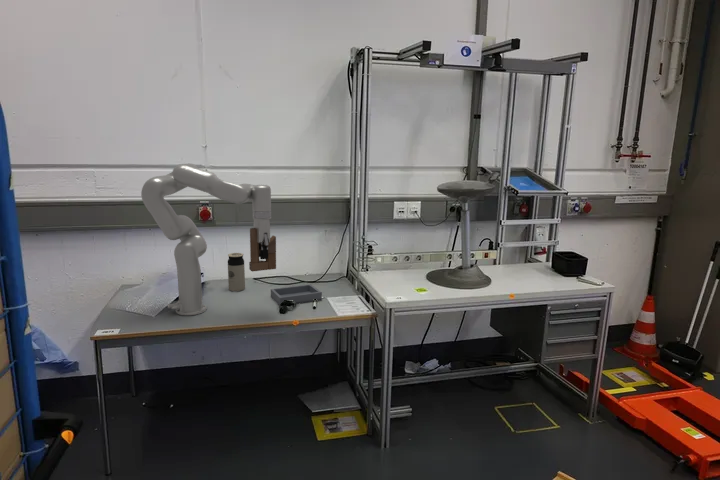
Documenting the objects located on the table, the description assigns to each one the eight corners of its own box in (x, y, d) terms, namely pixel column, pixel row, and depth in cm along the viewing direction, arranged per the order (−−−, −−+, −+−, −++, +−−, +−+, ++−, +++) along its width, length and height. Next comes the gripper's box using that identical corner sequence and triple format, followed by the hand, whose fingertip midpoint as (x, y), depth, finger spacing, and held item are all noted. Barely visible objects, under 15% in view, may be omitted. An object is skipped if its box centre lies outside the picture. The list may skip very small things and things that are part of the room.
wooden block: (276, 269, 206) (276, 227, 202) (251, 271, 200) (251, 229, 197) (273, 267, 209) (272, 226, 205) (249, 269, 203) (248, 228, 200)
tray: (279, 306, 217) (279, 297, 217) (270, 297, 230) (270, 289, 229) (321, 300, 227) (321, 292, 226) (310, 291, 239) (310, 284, 238)
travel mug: (239, 286, 247) (238, 251, 243) (248, 289, 241) (247, 254, 238) (225, 289, 241) (224, 254, 237) (234, 292, 236) (232, 257, 232)
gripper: (247, 212, 205) (248, 254, 209) (258, 218, 191) (259, 263, 195) (265, 211, 209) (265, 252, 212) (276, 217, 194) (277, 261, 198)
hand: (262, 257), depth 203 cm, fingers closed on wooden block, 3 cm apart
